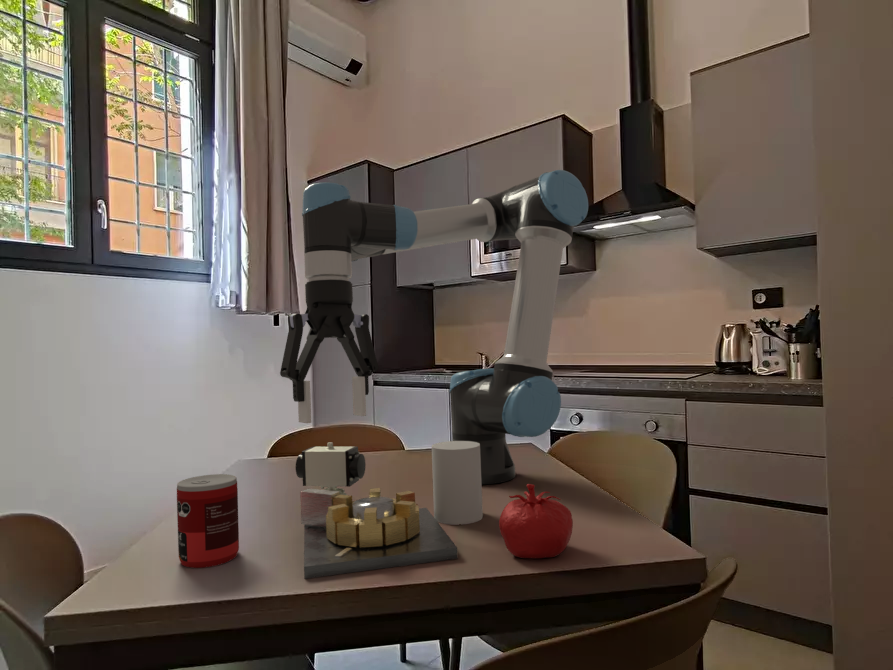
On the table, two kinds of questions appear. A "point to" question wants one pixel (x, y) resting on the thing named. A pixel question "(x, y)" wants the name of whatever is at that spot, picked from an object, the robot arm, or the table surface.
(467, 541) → the table surface
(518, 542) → the red tomato
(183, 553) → the canned food
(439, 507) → the white cylinder
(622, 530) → the table surface
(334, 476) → the pneumatic valve
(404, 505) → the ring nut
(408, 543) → the base plate
